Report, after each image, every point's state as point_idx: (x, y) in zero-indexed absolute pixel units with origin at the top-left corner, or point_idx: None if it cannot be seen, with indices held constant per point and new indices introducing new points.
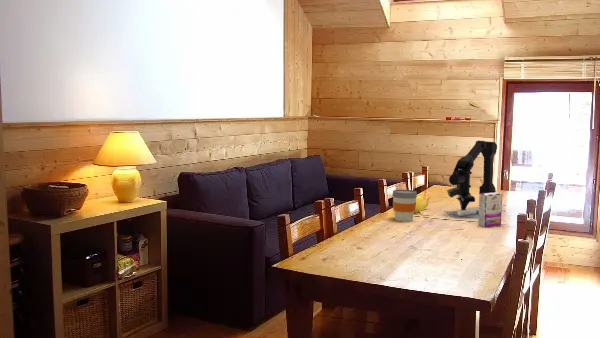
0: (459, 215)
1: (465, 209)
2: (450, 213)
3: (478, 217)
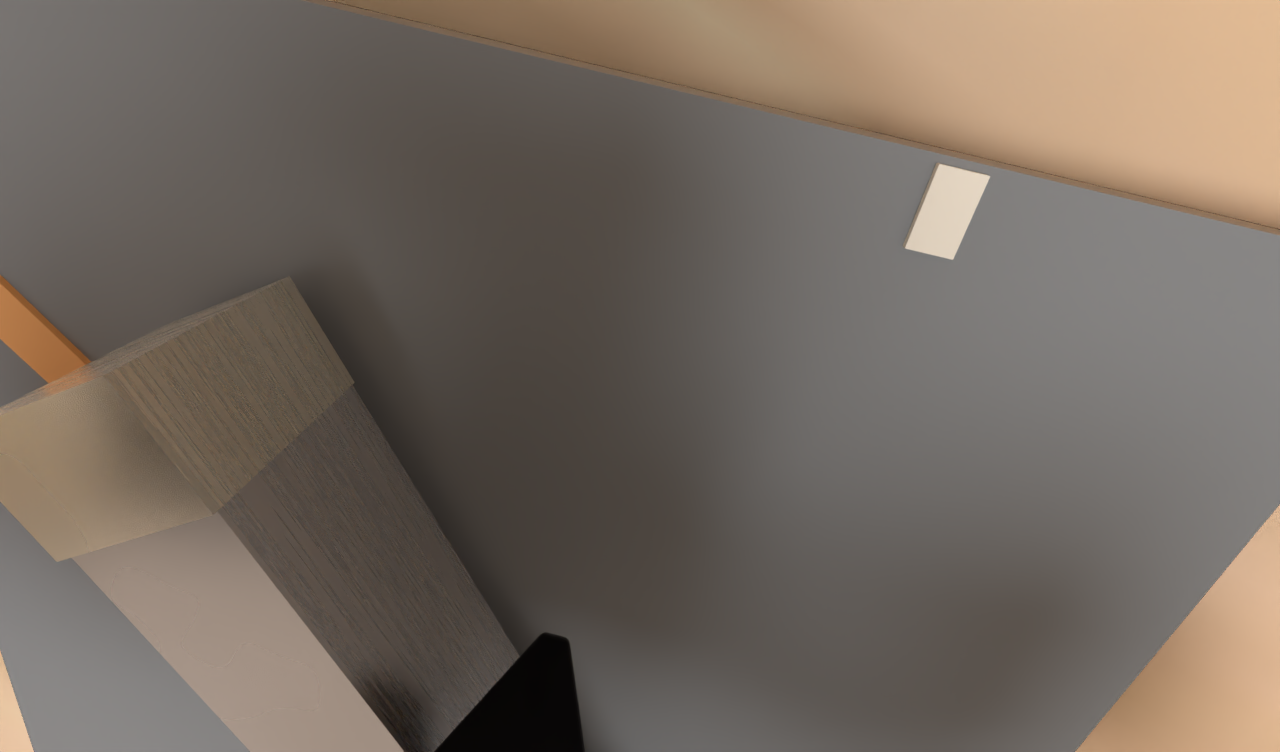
0: (205, 312)
1: (328, 749)
2: (866, 290)
3: (150, 700)
